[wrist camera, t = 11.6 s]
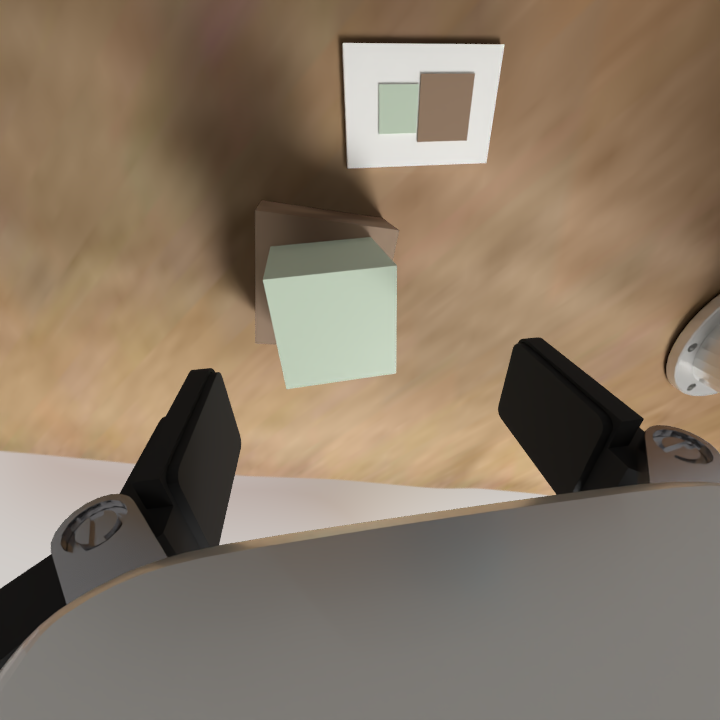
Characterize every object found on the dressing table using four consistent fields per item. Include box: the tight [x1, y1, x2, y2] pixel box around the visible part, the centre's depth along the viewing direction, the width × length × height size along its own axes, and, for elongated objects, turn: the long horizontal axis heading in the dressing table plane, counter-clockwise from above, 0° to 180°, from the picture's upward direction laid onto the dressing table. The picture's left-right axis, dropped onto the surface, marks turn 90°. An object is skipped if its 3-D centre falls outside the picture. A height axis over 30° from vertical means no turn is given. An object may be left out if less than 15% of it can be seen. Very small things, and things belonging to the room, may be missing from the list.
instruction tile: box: [342, 43, 504, 168], centre depth 17 cm, size 8×5×1 cm, turn 92°
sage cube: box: [263, 237, 397, 389], centre depth 16 cm, size 5×5×5 cm
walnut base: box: [255, 200, 399, 344], centre depth 19 cm, size 7×7×4 cm
